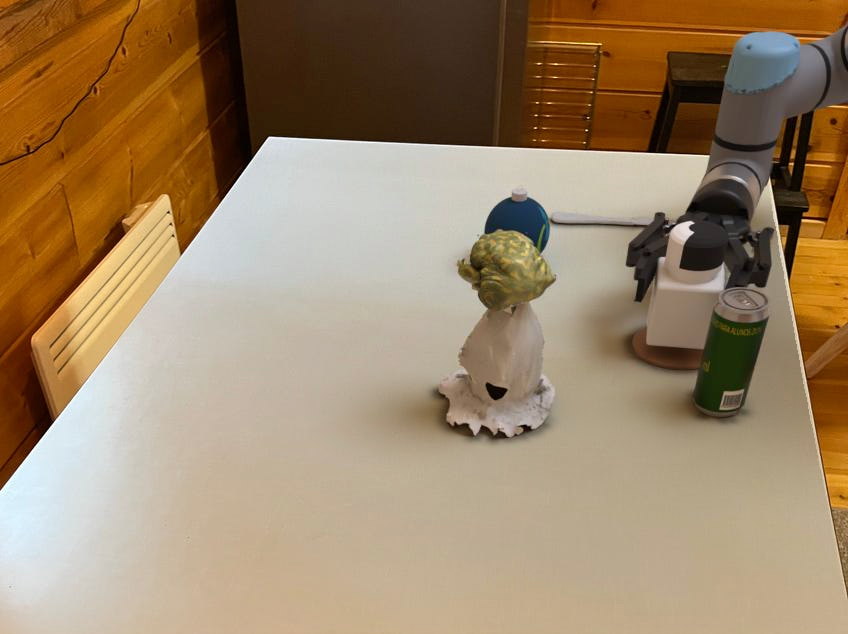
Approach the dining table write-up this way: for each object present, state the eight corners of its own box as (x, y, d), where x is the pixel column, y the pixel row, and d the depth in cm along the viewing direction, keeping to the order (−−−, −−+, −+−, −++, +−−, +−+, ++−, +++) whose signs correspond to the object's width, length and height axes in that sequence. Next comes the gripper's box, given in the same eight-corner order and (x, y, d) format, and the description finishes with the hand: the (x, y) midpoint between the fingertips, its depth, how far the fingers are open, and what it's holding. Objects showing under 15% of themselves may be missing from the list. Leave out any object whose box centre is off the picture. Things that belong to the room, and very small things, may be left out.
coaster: (704, 321, 115) (704, 318, 114) (734, 365, 108) (734, 362, 108) (621, 328, 114) (622, 325, 114) (646, 373, 108) (647, 370, 107)
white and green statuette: (539, 367, 109) (554, 204, 96) (565, 431, 101) (586, 261, 87) (435, 376, 109) (437, 213, 96) (453, 442, 100) (457, 272, 87)
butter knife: (552, 210, 136) (550, 219, 134) (729, 221, 131) (729, 230, 129) (552, 213, 136) (550, 222, 134) (728, 224, 132) (728, 233, 130)
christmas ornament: (516, 284, 123) (522, 205, 116) (469, 263, 127) (472, 186, 120) (560, 262, 126) (568, 184, 119) (513, 242, 131) (518, 166, 124)
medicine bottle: (710, 319, 111) (735, 215, 103) (711, 351, 107) (737, 245, 98) (647, 314, 113) (666, 211, 104) (645, 346, 108) (665, 241, 99)
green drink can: (753, 411, 102) (784, 305, 93) (710, 423, 101) (737, 317, 92) (724, 386, 105) (751, 281, 96) (681, 397, 104) (704, 293, 95)
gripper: (803, 253, 115) (774, 346, 102) (630, 228, 122) (580, 313, 108) (822, 189, 110) (795, 279, 96) (639, 167, 116) (589, 247, 103)
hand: (681, 297), depth 102 cm, fingers closed on medicine bottle, 8 cm apart
